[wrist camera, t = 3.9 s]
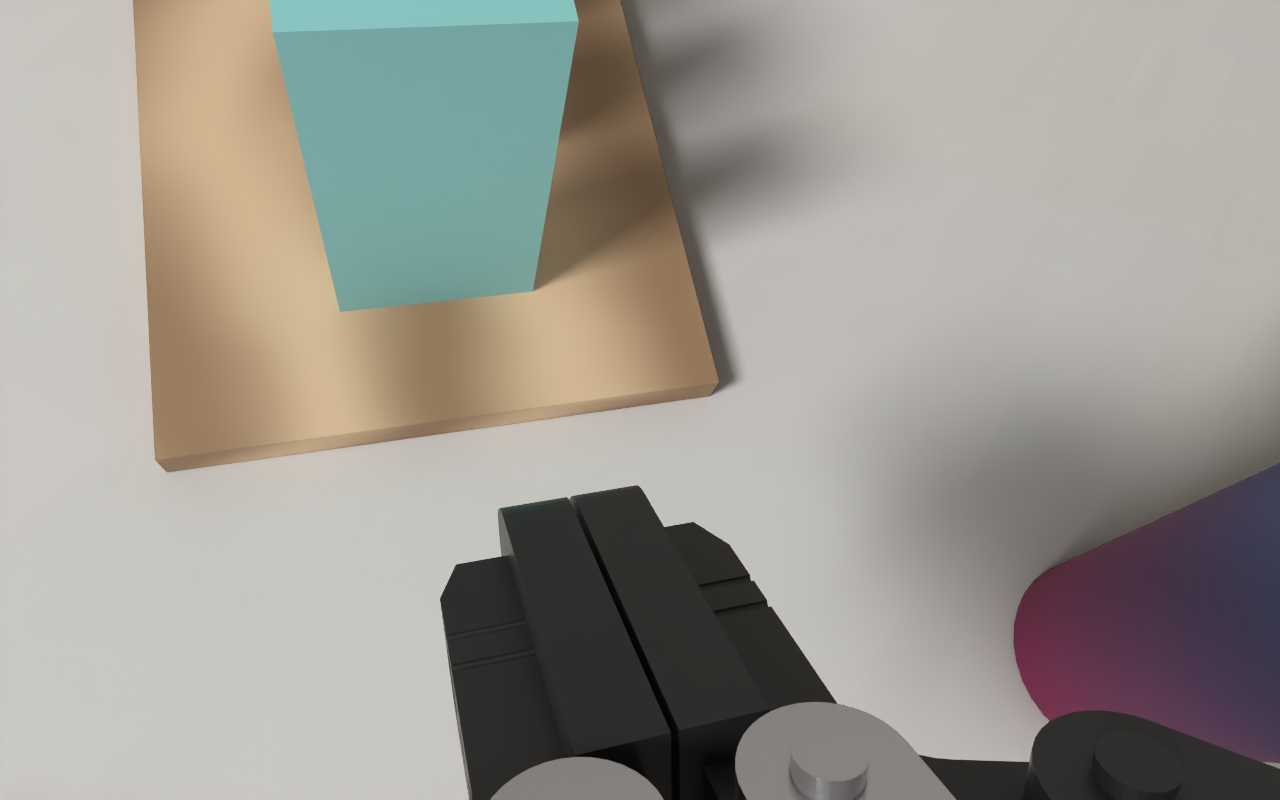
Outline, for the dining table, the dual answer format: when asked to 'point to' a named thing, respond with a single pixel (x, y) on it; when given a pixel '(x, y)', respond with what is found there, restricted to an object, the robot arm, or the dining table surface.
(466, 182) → the domino
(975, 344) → the dining table surface
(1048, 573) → the cup
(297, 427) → the board
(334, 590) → the dining table surface
